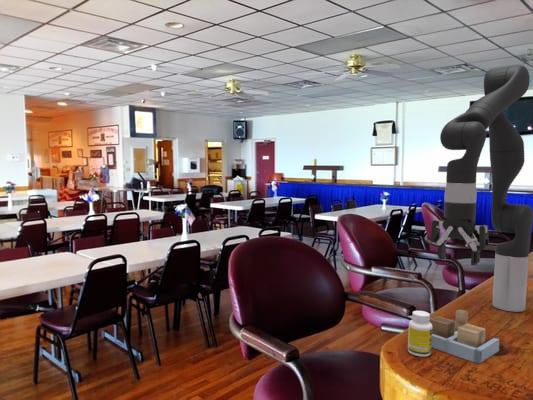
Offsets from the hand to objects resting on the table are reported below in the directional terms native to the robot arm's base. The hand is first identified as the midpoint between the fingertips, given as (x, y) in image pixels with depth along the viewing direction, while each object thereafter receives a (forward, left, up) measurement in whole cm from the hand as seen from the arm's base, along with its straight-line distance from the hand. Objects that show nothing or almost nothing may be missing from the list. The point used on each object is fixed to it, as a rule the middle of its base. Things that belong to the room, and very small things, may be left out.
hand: (457, 262), depth 114 cm
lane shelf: (+5, +4, -20) cm, 21 cm away
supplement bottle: (+16, -1, -20) cm, 26 cm away
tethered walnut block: (+2, 0, -20) cm, 20 cm away
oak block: (+6, +7, -20) cm, 22 cm away
